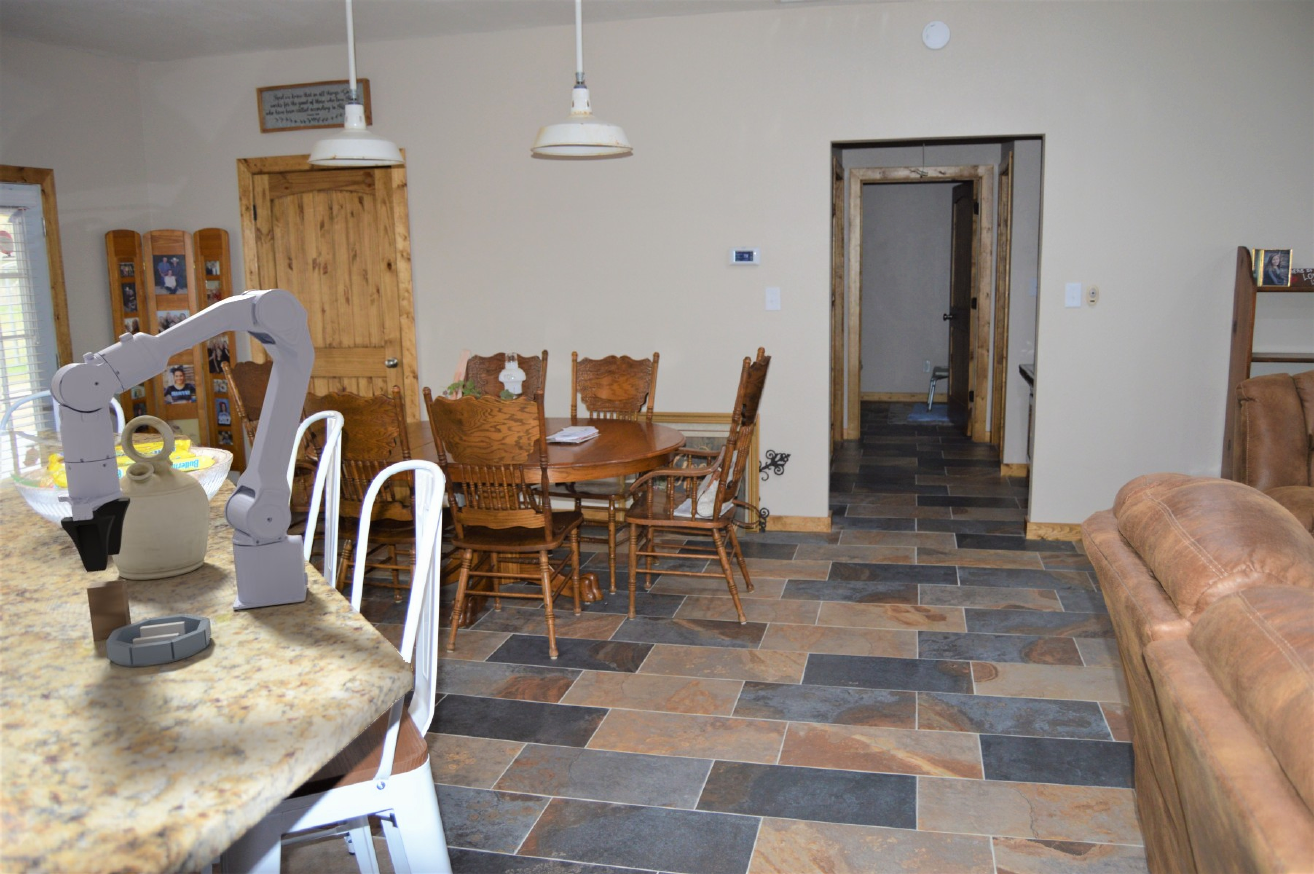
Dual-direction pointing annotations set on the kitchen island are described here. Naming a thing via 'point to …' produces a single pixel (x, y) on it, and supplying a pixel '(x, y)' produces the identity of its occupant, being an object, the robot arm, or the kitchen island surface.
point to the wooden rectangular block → (108, 607)
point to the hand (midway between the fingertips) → (103, 562)
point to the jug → (160, 512)
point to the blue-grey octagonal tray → (158, 640)
